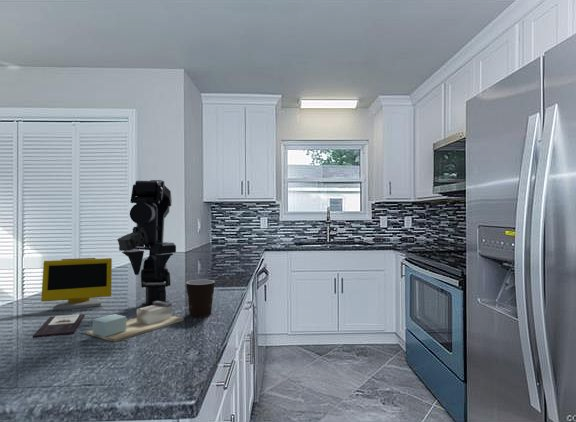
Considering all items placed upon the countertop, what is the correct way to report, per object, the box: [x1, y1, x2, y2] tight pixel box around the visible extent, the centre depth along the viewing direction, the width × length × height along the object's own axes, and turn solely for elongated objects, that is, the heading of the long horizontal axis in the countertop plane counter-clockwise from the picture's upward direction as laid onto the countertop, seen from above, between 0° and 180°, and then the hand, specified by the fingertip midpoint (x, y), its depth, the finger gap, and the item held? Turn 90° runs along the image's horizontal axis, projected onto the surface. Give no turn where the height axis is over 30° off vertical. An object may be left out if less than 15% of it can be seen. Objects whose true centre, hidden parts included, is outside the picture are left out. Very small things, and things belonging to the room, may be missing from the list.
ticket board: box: [85, 301, 185, 343], centre depth 104 cm, size 12×22×5 cm, turn 149°
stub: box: [92, 313, 127, 337], centre depth 97 cm, size 5×6×4 cm
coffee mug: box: [185, 279, 216, 318], centre depth 118 cm, size 12×9×10 cm
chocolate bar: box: [32, 313, 86, 339], centre depth 104 cm, size 9×1×18 cm
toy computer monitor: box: [40, 257, 113, 311], centre depth 127 cm, size 20×8×16 cm, turn 114°
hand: (146, 276), depth 112 cm, fingers open, 9 cm apart
